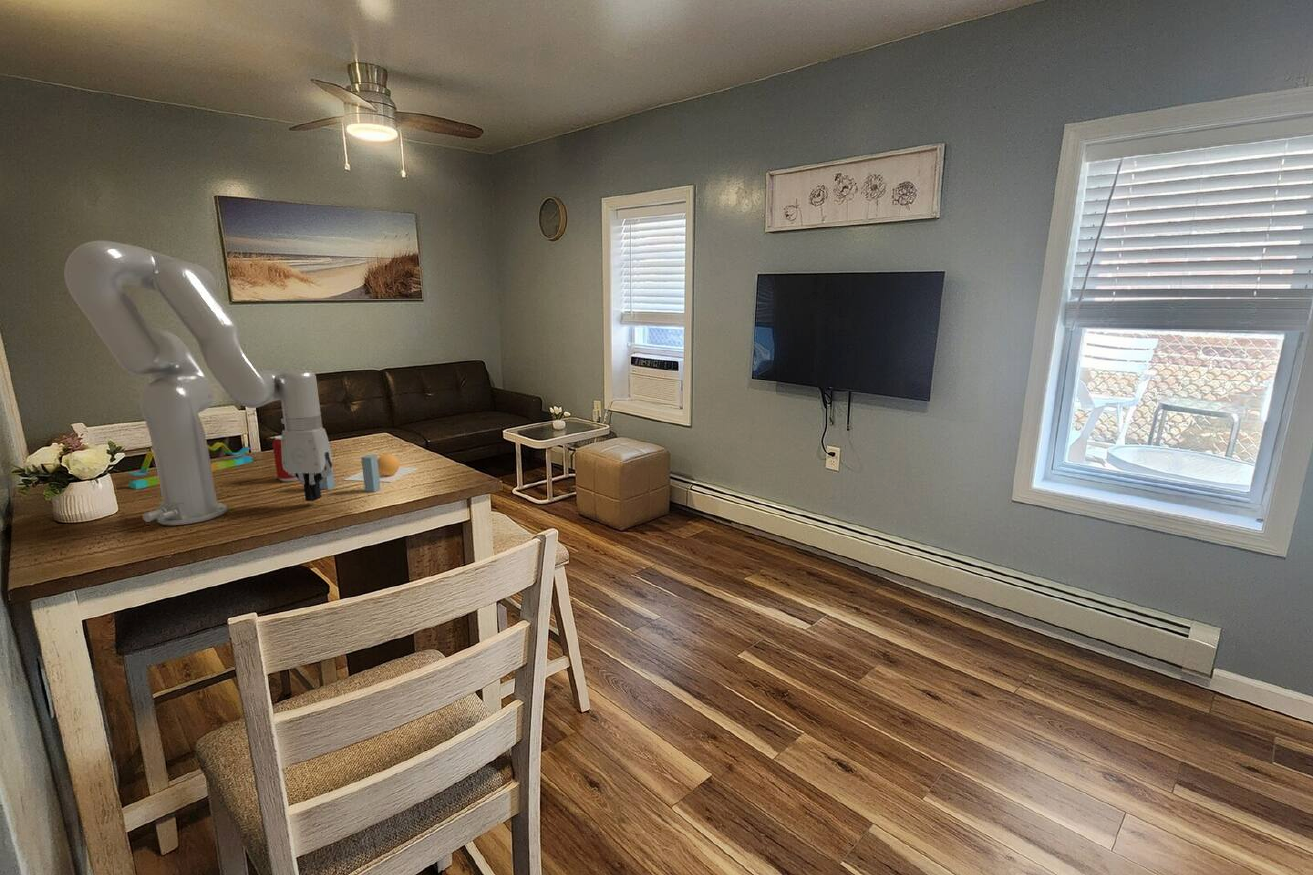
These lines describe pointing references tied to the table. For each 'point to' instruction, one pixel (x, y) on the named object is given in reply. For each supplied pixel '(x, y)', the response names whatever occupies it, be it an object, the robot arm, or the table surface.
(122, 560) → the table surface
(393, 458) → the ball
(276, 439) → the beverage can
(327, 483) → the left post
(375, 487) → the right post
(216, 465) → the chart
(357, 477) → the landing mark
